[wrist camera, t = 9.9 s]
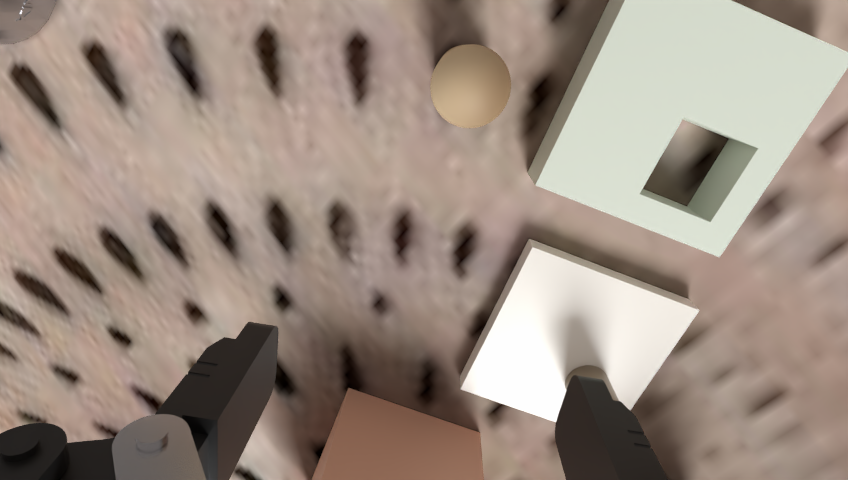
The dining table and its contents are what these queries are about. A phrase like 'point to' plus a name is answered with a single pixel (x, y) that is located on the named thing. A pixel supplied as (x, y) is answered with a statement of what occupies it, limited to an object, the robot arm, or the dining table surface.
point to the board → (572, 333)
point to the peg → (470, 85)
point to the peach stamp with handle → (396, 444)
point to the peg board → (684, 111)
